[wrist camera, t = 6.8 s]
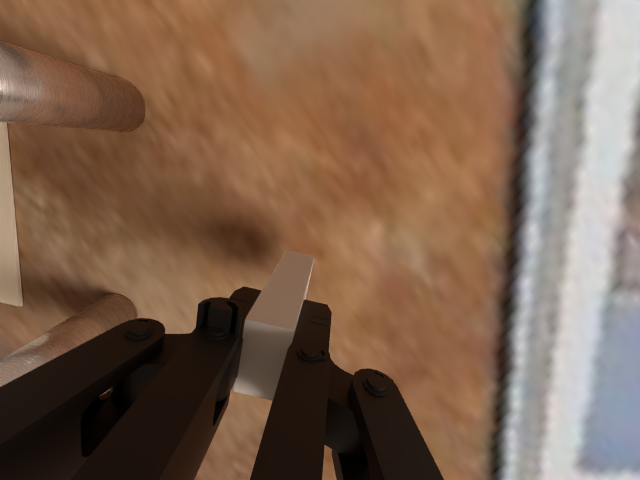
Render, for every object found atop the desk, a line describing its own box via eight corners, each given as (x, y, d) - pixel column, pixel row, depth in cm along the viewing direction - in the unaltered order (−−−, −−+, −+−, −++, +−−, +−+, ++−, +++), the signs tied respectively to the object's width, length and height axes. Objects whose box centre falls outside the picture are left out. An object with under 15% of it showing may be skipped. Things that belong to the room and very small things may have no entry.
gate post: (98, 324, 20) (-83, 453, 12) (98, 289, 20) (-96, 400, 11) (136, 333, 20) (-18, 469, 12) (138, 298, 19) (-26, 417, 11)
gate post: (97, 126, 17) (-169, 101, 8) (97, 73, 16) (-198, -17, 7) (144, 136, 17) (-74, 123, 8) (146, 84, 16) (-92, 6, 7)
